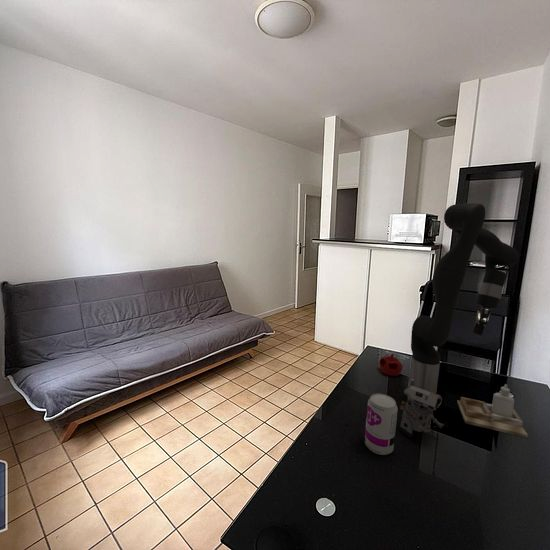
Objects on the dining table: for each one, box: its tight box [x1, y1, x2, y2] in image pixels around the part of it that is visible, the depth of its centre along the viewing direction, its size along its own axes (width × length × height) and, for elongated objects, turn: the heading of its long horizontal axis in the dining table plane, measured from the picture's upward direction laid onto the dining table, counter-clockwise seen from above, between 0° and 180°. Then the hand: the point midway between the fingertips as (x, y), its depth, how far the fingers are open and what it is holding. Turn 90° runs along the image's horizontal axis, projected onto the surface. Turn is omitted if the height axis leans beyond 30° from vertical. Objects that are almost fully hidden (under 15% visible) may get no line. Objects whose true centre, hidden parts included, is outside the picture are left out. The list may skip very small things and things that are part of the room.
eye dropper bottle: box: [491, 383, 515, 418], centre depth 99 cm, size 4×6×12 cm
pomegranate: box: [378, 353, 404, 377], centre depth 131 cm, size 10×10×9 cm
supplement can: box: [364, 393, 399, 456], centre depth 85 cm, size 8×8×15 cm
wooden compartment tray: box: [456, 396, 529, 439], centre depth 100 cm, size 17×13×3 cm
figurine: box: [398, 385, 449, 438], centre depth 91 cm, size 9×12×15 cm
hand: (477, 334), depth 116 cm, fingers open, 8 cm apart
